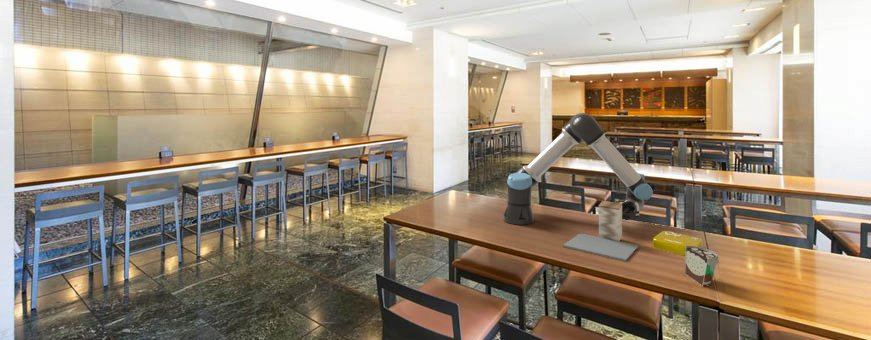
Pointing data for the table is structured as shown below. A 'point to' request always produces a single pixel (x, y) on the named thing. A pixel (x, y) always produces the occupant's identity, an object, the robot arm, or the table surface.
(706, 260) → the food container
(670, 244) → the element tile
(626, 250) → the mat
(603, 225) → the tall block
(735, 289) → the table surface
